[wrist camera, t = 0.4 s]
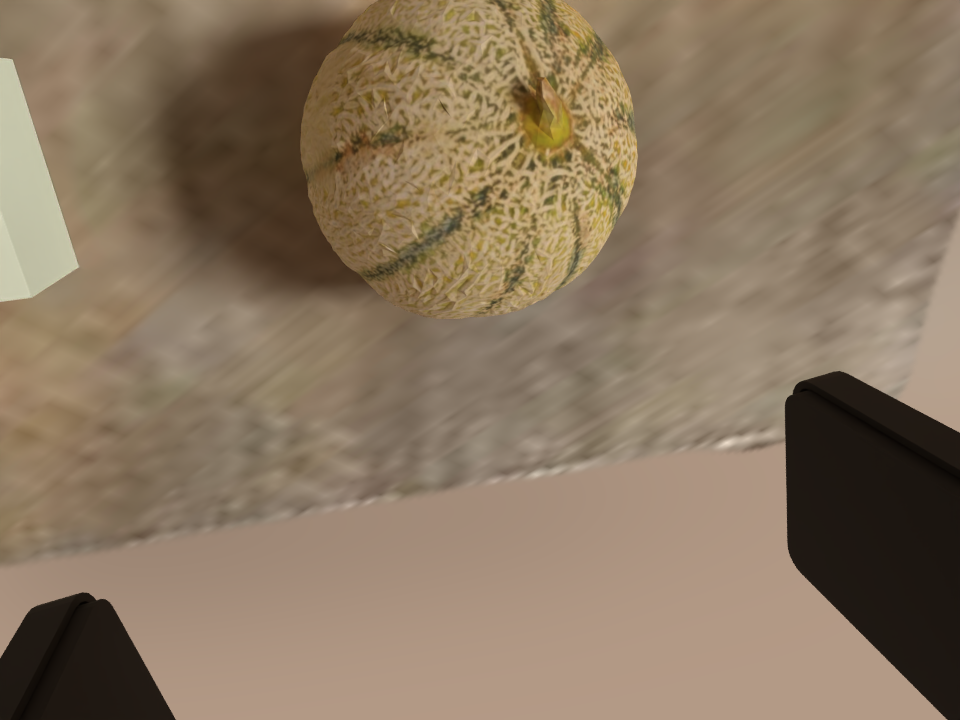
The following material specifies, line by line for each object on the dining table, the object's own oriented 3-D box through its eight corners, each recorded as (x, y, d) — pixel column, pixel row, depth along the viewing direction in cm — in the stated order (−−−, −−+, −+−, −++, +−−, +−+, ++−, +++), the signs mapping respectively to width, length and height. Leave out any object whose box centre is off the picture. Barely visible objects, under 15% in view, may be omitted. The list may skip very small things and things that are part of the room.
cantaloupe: (298, 265, 37) (279, 360, 23) (315, -29, 32) (302, -127, 19) (546, 289, 41) (656, 383, 27) (595, 28, 36) (757, -19, 22)
